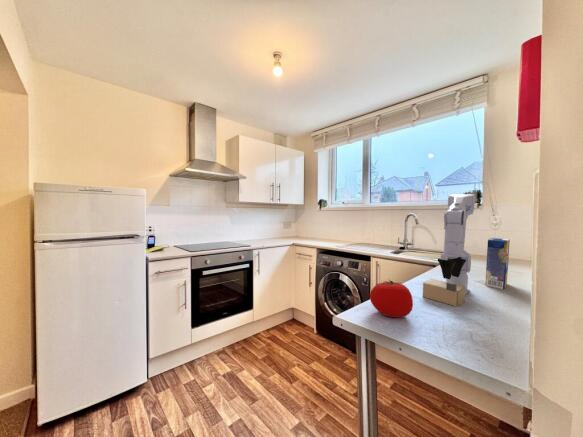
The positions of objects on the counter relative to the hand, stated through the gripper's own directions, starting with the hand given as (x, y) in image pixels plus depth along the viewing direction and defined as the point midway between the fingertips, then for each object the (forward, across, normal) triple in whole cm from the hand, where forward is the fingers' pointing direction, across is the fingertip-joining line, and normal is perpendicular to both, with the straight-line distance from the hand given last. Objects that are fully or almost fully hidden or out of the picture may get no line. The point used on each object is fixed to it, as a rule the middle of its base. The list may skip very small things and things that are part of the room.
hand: (451, 277), depth 91 cm
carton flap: (+10, +1, +4) cm, 11 cm away
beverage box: (+8, +46, -2) cm, 47 cm away
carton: (+10, +6, +5) cm, 13 cm away
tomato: (+13, -25, +9) cm, 29 cm away
